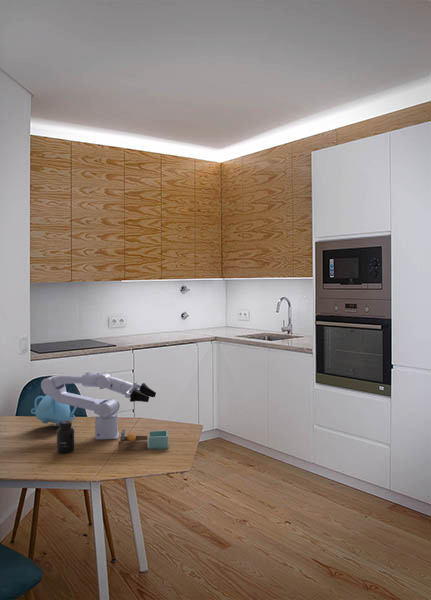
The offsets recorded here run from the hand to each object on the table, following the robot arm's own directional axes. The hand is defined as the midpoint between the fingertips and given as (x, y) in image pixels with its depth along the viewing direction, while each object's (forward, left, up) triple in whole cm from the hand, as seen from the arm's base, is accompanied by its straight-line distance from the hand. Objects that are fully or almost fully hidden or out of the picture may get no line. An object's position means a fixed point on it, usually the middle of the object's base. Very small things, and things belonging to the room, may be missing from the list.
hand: (152, 397), depth 219 cm
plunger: (-11, -9, -16) cm, 21 cm away
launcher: (-8, -9, -18) cm, 21 cm away
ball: (-8, -9, -14) cm, 19 cm away
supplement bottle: (-34, -11, -18) cm, 40 cm away
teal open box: (+2, -9, -18) cm, 20 cm away
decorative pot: (-47, +21, -15) cm, 54 cm away
